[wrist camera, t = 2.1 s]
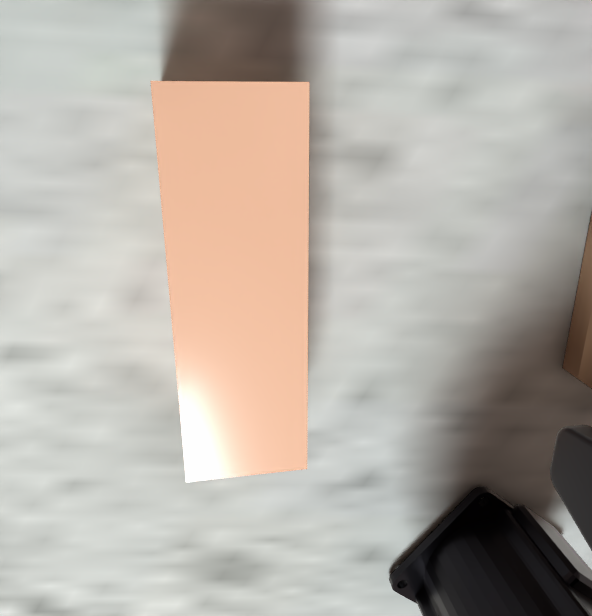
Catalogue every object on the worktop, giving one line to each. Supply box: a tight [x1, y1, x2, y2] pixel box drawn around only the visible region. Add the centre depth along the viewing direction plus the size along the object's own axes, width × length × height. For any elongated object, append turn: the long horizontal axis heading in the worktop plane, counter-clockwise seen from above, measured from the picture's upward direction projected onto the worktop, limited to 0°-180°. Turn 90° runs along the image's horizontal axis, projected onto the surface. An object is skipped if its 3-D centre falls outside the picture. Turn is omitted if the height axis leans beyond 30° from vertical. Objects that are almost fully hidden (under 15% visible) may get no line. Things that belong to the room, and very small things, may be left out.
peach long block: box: [151, 81, 309, 482], centre depth 17 cm, size 12×4×4 cm, turn 0°
